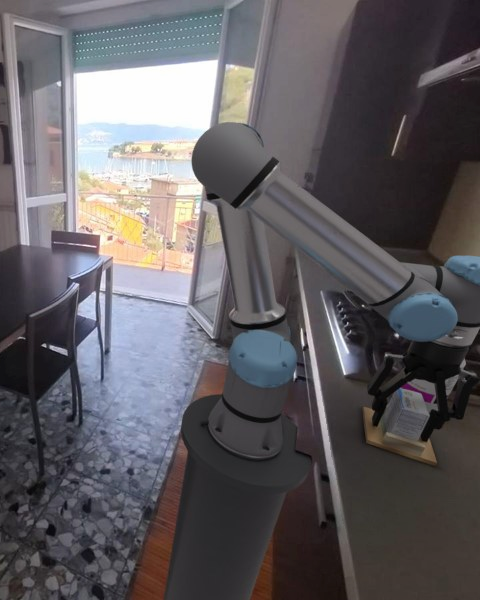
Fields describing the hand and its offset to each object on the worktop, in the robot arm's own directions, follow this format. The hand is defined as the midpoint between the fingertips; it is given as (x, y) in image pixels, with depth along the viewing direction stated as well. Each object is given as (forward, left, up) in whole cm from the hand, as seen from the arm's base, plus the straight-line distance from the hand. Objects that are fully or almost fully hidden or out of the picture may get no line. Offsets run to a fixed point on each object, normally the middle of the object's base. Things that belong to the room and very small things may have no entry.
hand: (398, 429), depth 76 cm
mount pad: (0, 0, -2) cm, 2 cm away
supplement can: (+6, +16, -2) cm, 17 cm away
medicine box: (0, 0, -1) cm, 1 cm away
